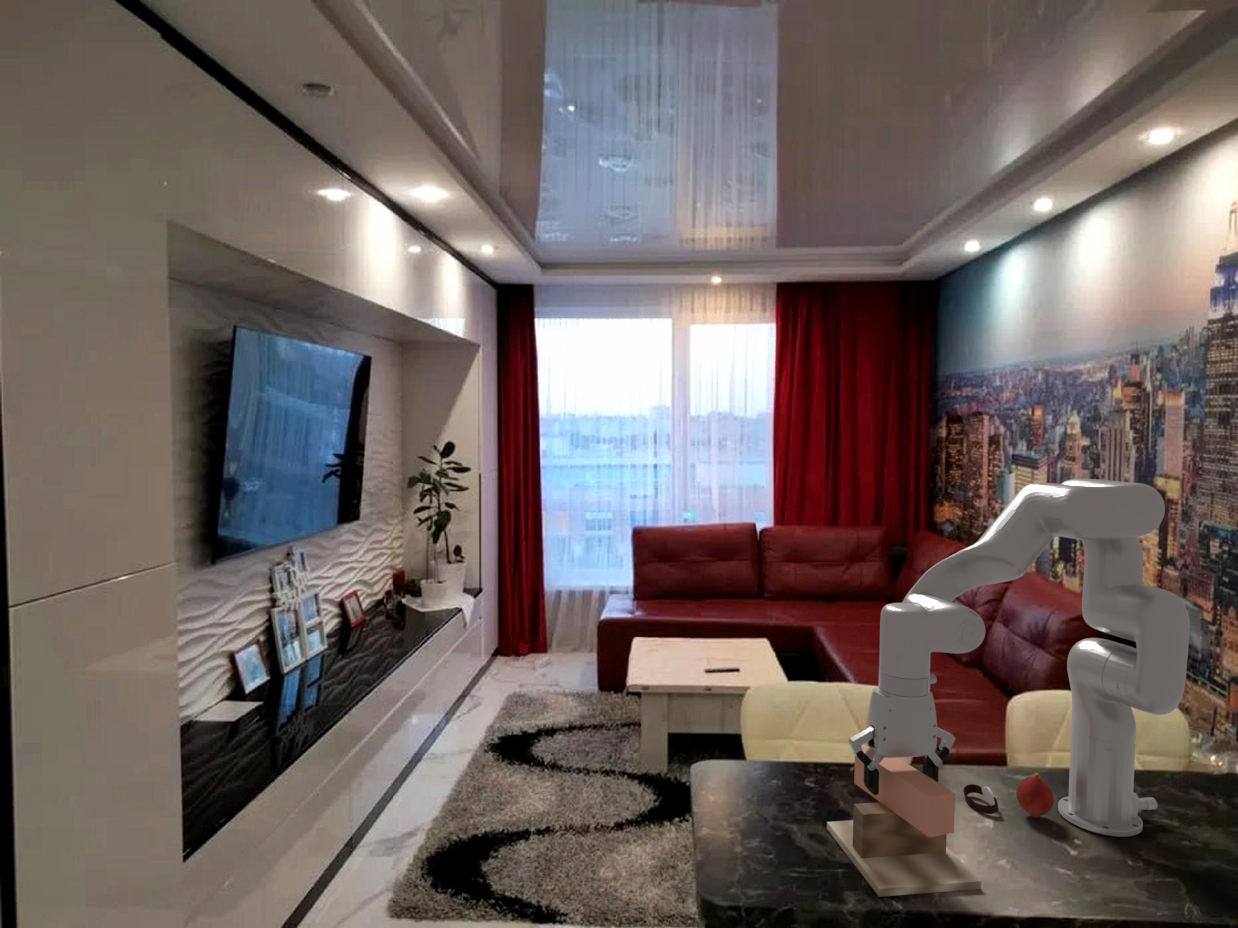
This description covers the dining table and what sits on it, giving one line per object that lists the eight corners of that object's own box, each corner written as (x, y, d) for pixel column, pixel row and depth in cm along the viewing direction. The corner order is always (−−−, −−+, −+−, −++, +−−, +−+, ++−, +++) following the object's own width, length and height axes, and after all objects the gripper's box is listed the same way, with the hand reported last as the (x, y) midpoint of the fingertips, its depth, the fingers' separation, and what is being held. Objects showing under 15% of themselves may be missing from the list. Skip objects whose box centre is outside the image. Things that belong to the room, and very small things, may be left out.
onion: (1008, 812, 137) (1009, 768, 137) (1030, 806, 140) (1032, 762, 139) (1037, 828, 132) (1039, 782, 132) (1060, 821, 134) (1062, 776, 134)
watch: (1005, 816, 136) (1006, 795, 136) (981, 817, 136) (982, 797, 135) (979, 795, 144) (979, 776, 144) (956, 796, 143) (956, 777, 143)
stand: (915, 822, 133) (916, 776, 133) (980, 888, 115) (982, 834, 114) (826, 828, 131) (828, 781, 131) (879, 896, 112) (880, 841, 112)
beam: (876, 779, 132) (877, 744, 131) (953, 832, 115) (955, 793, 114) (854, 782, 130) (855, 748, 130) (929, 837, 113) (930, 797, 113)
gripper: (942, 673, 126) (938, 775, 127) (841, 677, 124) (838, 781, 125) (968, 689, 119) (965, 797, 120) (862, 693, 116) (859, 803, 117)
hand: (900, 789), depth 122 cm, fingers open, 9 cm apart
